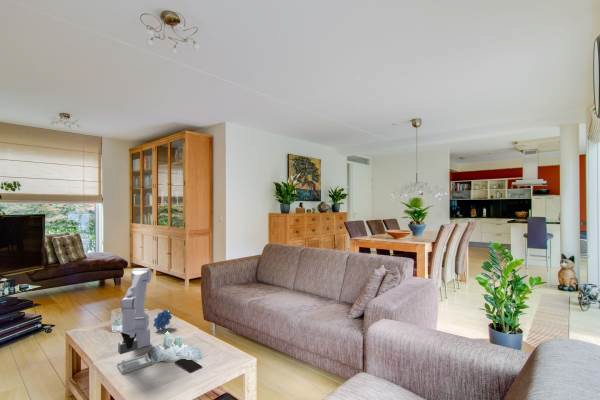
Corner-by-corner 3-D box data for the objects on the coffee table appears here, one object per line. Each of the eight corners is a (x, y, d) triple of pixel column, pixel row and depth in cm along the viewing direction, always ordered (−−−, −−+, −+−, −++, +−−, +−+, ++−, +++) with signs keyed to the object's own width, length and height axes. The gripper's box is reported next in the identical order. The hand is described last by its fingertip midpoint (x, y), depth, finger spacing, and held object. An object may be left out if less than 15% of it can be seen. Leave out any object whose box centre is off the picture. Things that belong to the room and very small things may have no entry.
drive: (135, 346, 166) (135, 337, 166) (137, 349, 163) (137, 339, 163) (118, 351, 161) (118, 342, 161) (120, 354, 158) (120, 344, 158)
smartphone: (190, 372, 152) (173, 361, 162) (190, 375, 153) (173, 364, 162) (203, 366, 158) (186, 356, 167) (203, 368, 158) (186, 358, 167)
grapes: (168, 324, 212) (169, 306, 212) (173, 327, 207) (173, 309, 207) (150, 329, 204) (151, 310, 204) (154, 332, 199) (155, 313, 199)
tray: (146, 357, 167) (146, 349, 167) (152, 363, 161) (152, 356, 161) (117, 366, 158) (117, 358, 158) (122, 374, 151) (122, 365, 151)
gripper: (116, 318, 165) (115, 344, 165) (123, 326, 154) (123, 354, 154) (131, 315, 170) (130, 340, 170) (139, 323, 159) (138, 350, 159)
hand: (128, 346), depth 162 cm, fingers closed on drive, 4 cm apart
